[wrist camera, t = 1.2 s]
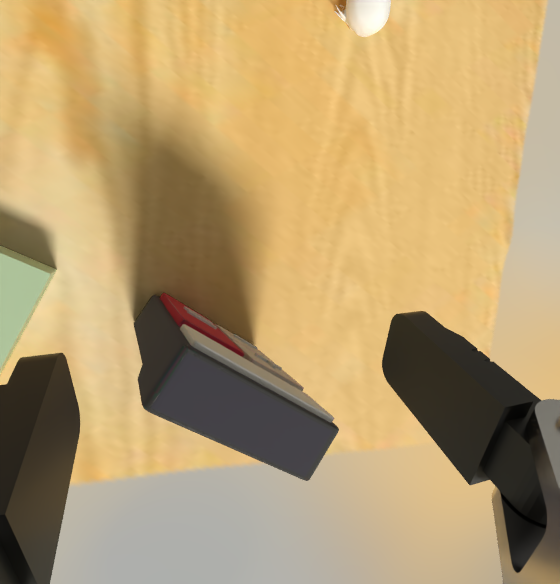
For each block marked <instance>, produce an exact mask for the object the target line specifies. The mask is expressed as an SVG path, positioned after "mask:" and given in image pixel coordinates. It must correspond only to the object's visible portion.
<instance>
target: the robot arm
mask: <svg viewBox="0 0 560 584" xmlns="http://www.w3.org/2000/svg"><path fill="white" fill-rule="evenodd" d="M382 368H383V373H384V376H385V378H386V380H387V382H388V383H389V385H390V386H391V387H392V388H393V390H394V391H395V392H396V393H397V395H398V396H399V397H400V398H401V400H402V401H403V402H404V403H405V405H406V406H407V407H408V408H409V410H410V411H411V412H412V413H413V415H414V416H415V417H416V418H417V420H418V421H419V422H420V423H421V425H422V426H423V427H424V429H425V430H426V431H427V432H428V434H429V435H430V436H431V437H432V439H433V440H434V441H435V442H436V444H437V445H438V446H439V447H440V448H441V450H442V451H443V452H444V454H445V455H446V456H447V457H448V458H449V460H450V461H451V462H452V464H453V465H454V466H455V467H456V469H457V470H458V471H459V472H460V474H461V475H462V476H463V477H464V479H465V480H466V481H467V482H468V484H469V485H473V484H476V483H480V482H483V481H486V480H491V481H492V482H493V484H495V488H494V490H493V493H492V503H493V510H494V518H495V525H496V533H497V540H498V547H499V554H500V562H501V570H502V577H503V584H560V400H554V399H548V400H543V401H541V400H540V399H539V398H538V397H536V396H535V395H534V394H533V393H531V392H530V391H529V390H527V389H526V388H525V387H524V386H523V385H521V384H520V383H519V382H518V381H516V380H515V379H514V378H513V377H512V376H510V375H509V374H508V373H507V372H505V371H504V370H503V369H502V368H501V367H499V366H498V365H497V364H496V363H494V362H490V359H489V358H488V357H487V356H486V355H485V354H483V353H482V352H481V351H477V348H476V347H475V346H473V345H472V344H471V343H470V342H468V341H467V340H466V339H465V338H464V337H462V336H460V335H458V334H456V333H454V332H452V331H450V330H448V329H446V328H445V327H444V326H442V325H441V324H440V323H439V322H438V321H436V320H435V319H434V318H433V317H431V316H430V315H429V314H428V313H426V312H424V311H418V312H409V313H401V314H396V315H395V316H394V317H393V318H392V321H391V325H390V329H389V333H388V338H387V342H386V346H385V351H384V355H383V360H382ZM79 432H80V413H79V407H78V402H77V399H76V395H75V391H74V387H73V383H72V379H71V375H70V371H69V367H68V364H67V360H66V357H65V355H64V354H63V353H56V354H48V355H39V356H31V357H22V358H20V359H19V360H18V362H17V364H16V366H15V368H14V371H13V373H12V375H11V377H10V379H9V381H8V383H7V384H6V385H0V584H50V580H51V575H52V570H53V564H54V559H55V554H56V549H57V544H58V539H59V534H60V529H61V524H62V519H63V514H64V509H65V504H66V499H67V494H68V489H69V484H70V479H71V474H72V469H73V464H74V459H75V454H76V449H77V444H78V439H79Z"/></svg>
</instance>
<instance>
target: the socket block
mask: <svg viewBox="0 0 560 584" xmlns="http://www.w3.org/2000/svg"><path fill="white" fill-rule="evenodd" d="M56 270H57V269H54V268H52V267H50V266H47V265H45V264H43V263H40V262H38V261H36V260H33V259H31V258H29V257H26V256H24V255H22V254H19V253H17V252H15V251H12V250H10V249H8V248H5V247H3V246H1V245H0V374H1V373H2V371H3V369H4V367H5V365H6V363H7V361H8V359H9V358H10V356H11V354H12V352H13V350H14V348H15V346H16V344H17V343H18V341H19V339H20V337H21V335H22V333H23V331H24V330H25V328H26V326H27V324H28V322H29V320H30V318H31V316H32V315H33V313H34V311H35V309H36V307H37V305H38V303H39V301H40V300H41V298H42V296H43V294H44V292H45V290H46V288H47V287H48V285H49V283H50V281H51V279H52V277H53V275H54V273H55V272H56Z"/></svg>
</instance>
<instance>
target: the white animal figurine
mask: <svg viewBox="0 0 560 584" xmlns="http://www.w3.org/2000/svg"><path fill="white" fill-rule="evenodd" d="M390 5H391V0H347V1H346V6H345V7H346V10H345V11H344V13H342V12H343V11H342V12H341V11H340V10H339V8H338V7H337V6H336V7H337V9H338V11H339V13H340V15H339V14H338V13H337V12H335V13H336V14H337V15H338V16H339V17H340V18H341V19H342V20H343V21H344V22H346V24H347V25H348V26H349V29H351V30H353V31H355V32H356V34H357V35H359V36H361V37H367V36H370V35H372V34H374V33H376V32H378V31H379V30H380V29H381V28H382V27H383V26H384V25H385V23H386V22H387V19H388V17H389V12H390ZM339 6H340V5H339ZM343 8H344V7H343ZM343 14H344V15H343Z"/></svg>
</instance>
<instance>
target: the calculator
mask: <svg viewBox="0 0 560 584" xmlns="http://www.w3.org/2000/svg"><path fill="white" fill-rule="evenodd" d="M134 328H135V332H136V337H137V341H138V345H139V350H140V354H141V359H142V363H143V365H142V368H141V371H140V374H139V377H138V383H139V389H140V395H141V401H142V405H143V407H144V409H145V410H147V411H148V412H150V413H152V414H154V415H157V416H159V417H161V418H163V419H166V420H168V421H170V422H173V423H175V424H177V425H179V426H182V427H184V428H186V429H189V430H191V431H193V432H195V433H198V434H200V435H202V436H205V437H207V438H209V439H211V440H214V441H216V442H218V443H220V444H223V445H225V446H227V447H230V448H232V449H234V450H236V451H239V452H241V453H243V454H246V455H248V456H250V457H252V458H255V459H257V460H259V461H261V462H264V463H266V464H268V465H271V466H273V467H275V468H278V469H280V470H282V471H284V472H287V473H289V474H291V475H294V476H296V477H298V478H300V479H303V480H306V481H308V480H309V479H310V478H311V476H312V474H313V473H314V471H315V469H316V468H317V466H318V465H319V463H320V461H321V460H322V458H323V456H324V455H325V453H326V451H327V450H328V448H329V446H330V444H331V443H332V441H333V439H334V438H335V436H336V434H337V433H338V431H339V429H338V427H337V426H336V425H335V424H334V423H333V422H332V421H333V419H334V417H333V416H332V415H330V414H329V413H328V412H327V411H326V410H325V409H323V408H322V407H321V406H320V405H319V404H318V403H316V402H315V401H314V400H313V399H312V398H311V397H310V396H308V395H307V394H305V393H304V392H302V391H303V389H304V388H303V387H302V386H301V385H300V384H299V383H297V382H296V381H295V380H294V379H293V378H292V377H290V376H289V375H288V374H287V373H286V372H284V371H283V370H282V368H281V367H279V366H278V365H276V364H275V363H274V362H272V361H271V360H270V359H269V358H268V357H267V356H265V355H264V354H263V353H262V352H261V351H259V350H258V349H257V347H256V346H254V345H252V344H251V343H249V342H247V341H246V340H244V339H242V338H241V337H239V336H237V335H236V334H232V333H231V332H229V331H227V330H226V329H224V328H222V327H221V326H219V325H217V324H215V325H214V324H213V323H212V322H211V321H210V320H209V319H207V318H206V317H204V316H202V315H201V314H199V313H197V312H196V311H194V310H192V309H191V308H189V307H187V306H186V305H184V304H182V303H181V302H179V301H177V300H176V299H174V298H172V297H171V296H169V295H167V294H166V293H163V294H162V295H161V297H158V296H157V295H153V296H152V297H151V299H150V300H149V301H148V303H147V304H146V306H145V307H144V309H143V310H142V312H141V313H140V315H139V316H138V318H137V319H136V321H135V322H134Z"/></svg>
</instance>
